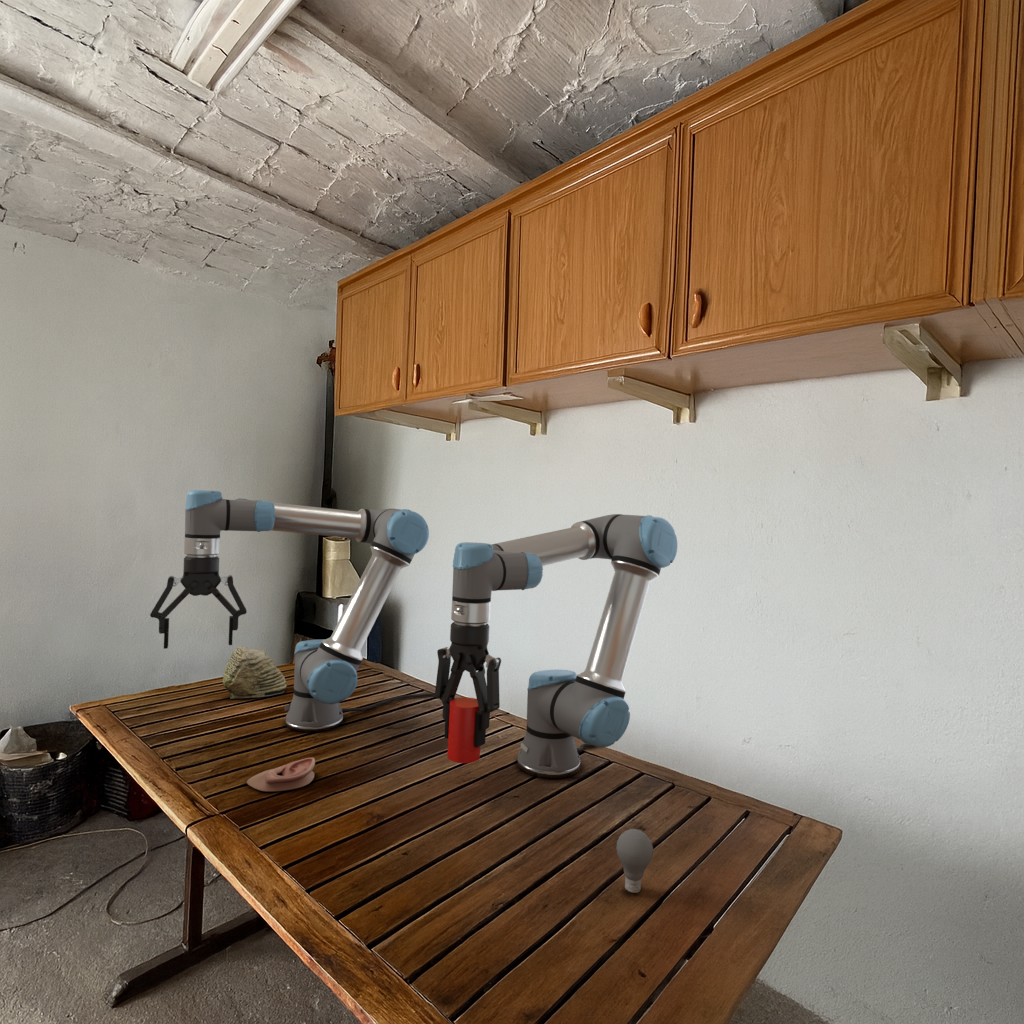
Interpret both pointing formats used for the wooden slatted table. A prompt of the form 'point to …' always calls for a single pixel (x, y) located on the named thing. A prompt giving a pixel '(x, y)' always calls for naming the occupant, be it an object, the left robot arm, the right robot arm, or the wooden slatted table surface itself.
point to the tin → (462, 730)
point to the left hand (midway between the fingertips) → (198, 645)
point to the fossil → (252, 674)
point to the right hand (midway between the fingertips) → (464, 740)
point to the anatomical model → (284, 776)
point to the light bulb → (634, 857)
